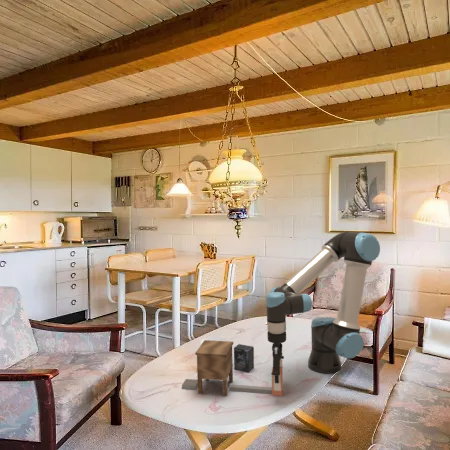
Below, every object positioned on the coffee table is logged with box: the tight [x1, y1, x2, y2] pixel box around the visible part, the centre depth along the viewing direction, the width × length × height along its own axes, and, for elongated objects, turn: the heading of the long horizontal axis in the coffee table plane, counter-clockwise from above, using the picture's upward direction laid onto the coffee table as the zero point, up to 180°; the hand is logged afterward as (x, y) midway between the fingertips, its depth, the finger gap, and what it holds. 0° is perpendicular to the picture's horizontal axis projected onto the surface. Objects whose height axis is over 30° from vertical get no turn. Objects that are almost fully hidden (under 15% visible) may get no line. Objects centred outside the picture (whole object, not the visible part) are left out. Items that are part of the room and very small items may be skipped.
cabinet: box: [194, 339, 234, 397], centre depth 165 cm, size 13×15×17 cm
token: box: [181, 378, 198, 391], centre depth 167 cm, size 6×6×2 cm
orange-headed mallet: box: [228, 367, 284, 397], centre depth 161 cm, size 22×4×10 cm, turn 78°
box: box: [233, 343, 255, 373], centre depth 183 cm, size 8×6×11 cm
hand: (278, 382), depth 159 cm, fingers open, 13 cm apart
